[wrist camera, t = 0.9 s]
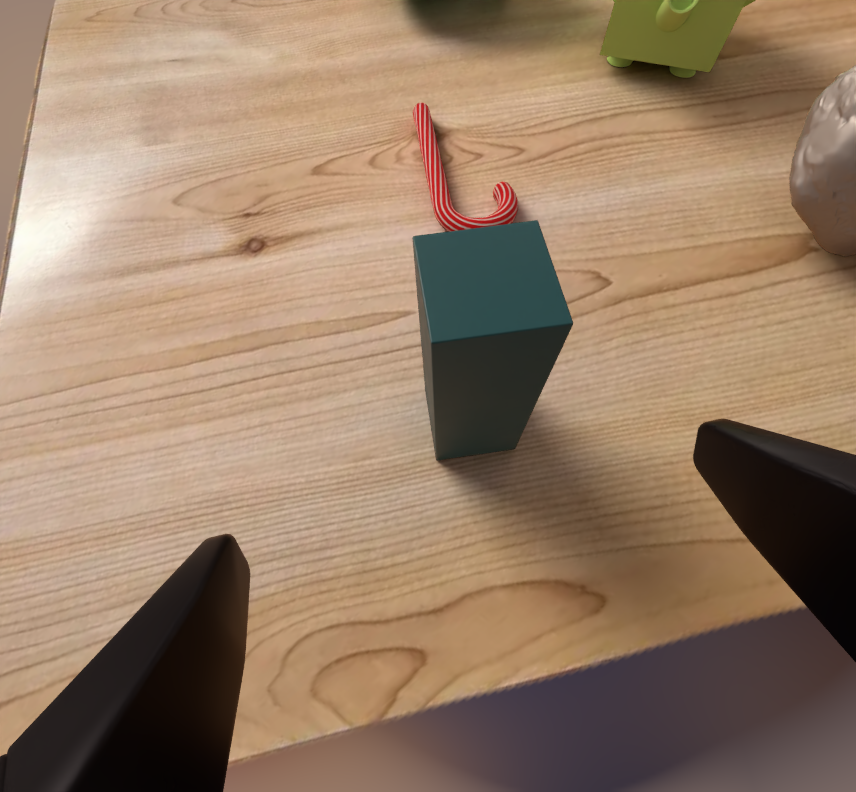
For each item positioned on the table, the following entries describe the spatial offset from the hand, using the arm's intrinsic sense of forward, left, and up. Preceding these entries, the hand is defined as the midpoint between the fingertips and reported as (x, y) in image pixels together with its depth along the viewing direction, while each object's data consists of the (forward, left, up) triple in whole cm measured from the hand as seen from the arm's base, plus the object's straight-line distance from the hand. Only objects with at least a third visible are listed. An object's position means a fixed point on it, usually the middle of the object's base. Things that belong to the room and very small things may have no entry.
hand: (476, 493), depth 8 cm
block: (+6, -5, -15) cm, 17 cm away
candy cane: (+24, -15, -15) cm, 32 cm away
